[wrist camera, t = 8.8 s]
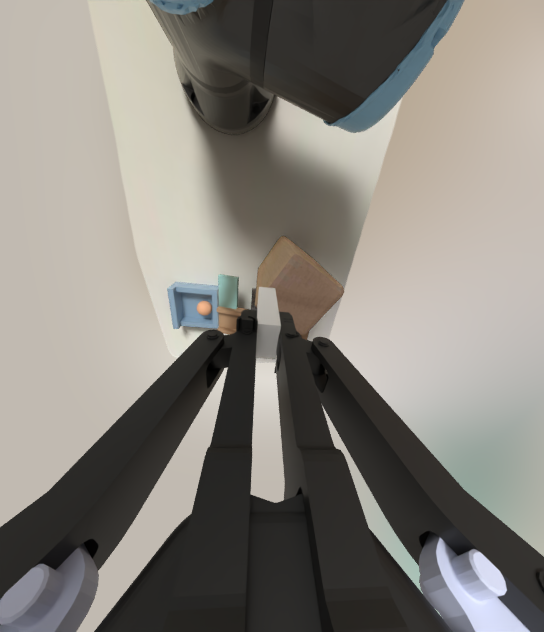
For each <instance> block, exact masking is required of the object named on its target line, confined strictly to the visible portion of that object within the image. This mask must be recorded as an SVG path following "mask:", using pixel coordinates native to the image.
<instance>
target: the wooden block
mask: <svg viewBox="0 0 544 632" xmlns="http://www.w3.org/2000/svg"><path fill="white" fill-rule="evenodd" d="M259 287H267V288H275V290H276V297H277V303H278V310H279V312H289V313H290V314H291V315H292V317H293V321H294V324H295V328H296V331H297V332H299V333H300V335H305V334H306V333H307V332H308V331H309V330H310V329H311V328H312V327H313V326H314V325H315V324H316V323H317V322H318V321H319V320H320V319H321V318H322V316H323V315H324V314H325V313H326V312H327V311H328V310H329V309H330V308H331V307H332V306H333V305H334V304H335V303H336V302H337V301H338V300H339V299H340V298H341V297H342V295H343V293H344V289H343V287H342V285H341V284H340V283H339V282H337V281H336V280H335V279H334V278H333V277H332V276H331V275H330V274H329V273H328V272H327V271H326V270H325V269H324V268H323V267H322V266H320V265H319V264H318V263H317V262H316V261H315V260H314V259H313V258H312V257H310V256H309V255H308V254H307V253H305V252H304V251H303V250H302V249H300V248H299V247H298V246H297V245H295V244H294V243H293V242H292V241H290V240H289V239H288V238H287V237H285V236H282V237H280V238H279V239H278V241H277V242H276V243H275V245H274V246H273V248H272V249H271V251H270V252H269V254H268V255H267V257H266V258H265V259H264V261H263V262H262V264H261V265H260V267H259V268H258V275H257V286H256V297H255V306H256V307H257V304H258V292H259Z"/></svg>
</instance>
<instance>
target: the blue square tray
mask: <svg viewBox="0 0 544 632" xmlns="http://www.w3.org/2000/svg"><path fill="white" fill-rule="evenodd" d="M167 290H168V297H169V303H170V310H171V316H172V323H173V329H179V328H180V326H191V327H204V328H218V327H219V312H217V308H218V307H219V286H213V285H203V284H192V283H181V282H175V283H174V284H172V285H171V286H170V287H169V288H167ZM201 301H208V302H209V303H210V304H211V305H212V311H211V313H210V314H208V315H201V314H199V313H198V311H197V305H198V303H199V302H201Z"/></svg>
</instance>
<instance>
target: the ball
mask: <svg viewBox="0 0 544 632" xmlns="http://www.w3.org/2000/svg"><path fill="white" fill-rule="evenodd" d="M197 311H198V313H199V314H201V315H208V314H210V313H211V311H212V305H211V304H210V303H209V302H208V301H201V302H199V303H198V305H197Z"/></svg>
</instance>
